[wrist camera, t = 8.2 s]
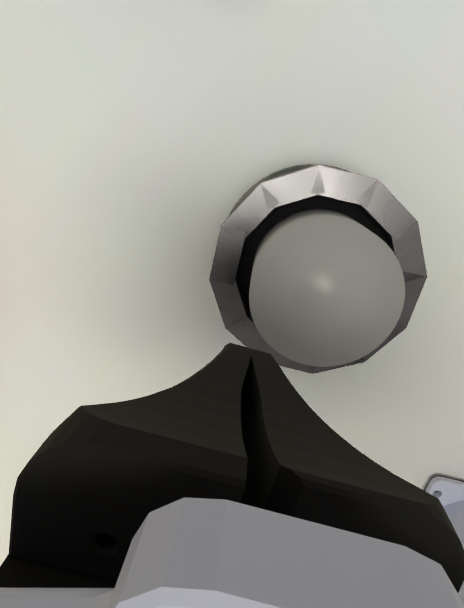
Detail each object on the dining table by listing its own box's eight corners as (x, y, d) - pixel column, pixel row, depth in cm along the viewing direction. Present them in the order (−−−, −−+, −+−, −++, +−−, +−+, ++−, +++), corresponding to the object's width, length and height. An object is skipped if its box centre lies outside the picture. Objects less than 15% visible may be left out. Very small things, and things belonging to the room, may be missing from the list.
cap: (351, 335, 18) (373, 382, 14) (240, 307, 18) (233, 346, 14) (392, 224, 16) (430, 243, 13) (270, 193, 16) (271, 202, 13)
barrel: (359, 345, 22) (382, 394, 18) (207, 308, 22) (190, 346, 18) (417, 187, 20) (464, 195, 15) (243, 145, 20) (235, 140, 15)
